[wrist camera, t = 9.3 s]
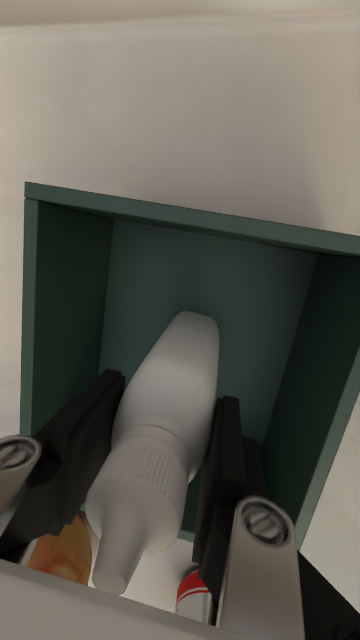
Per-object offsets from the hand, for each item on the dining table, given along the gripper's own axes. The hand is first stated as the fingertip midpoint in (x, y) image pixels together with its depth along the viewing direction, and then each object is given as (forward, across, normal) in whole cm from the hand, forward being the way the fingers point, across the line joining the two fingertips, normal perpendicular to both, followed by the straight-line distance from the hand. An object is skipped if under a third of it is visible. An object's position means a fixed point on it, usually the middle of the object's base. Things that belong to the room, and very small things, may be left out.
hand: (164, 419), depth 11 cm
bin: (+10, 0, 0) cm, 10 cm away
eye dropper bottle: (+7, 0, 0) cm, 7 cm away
